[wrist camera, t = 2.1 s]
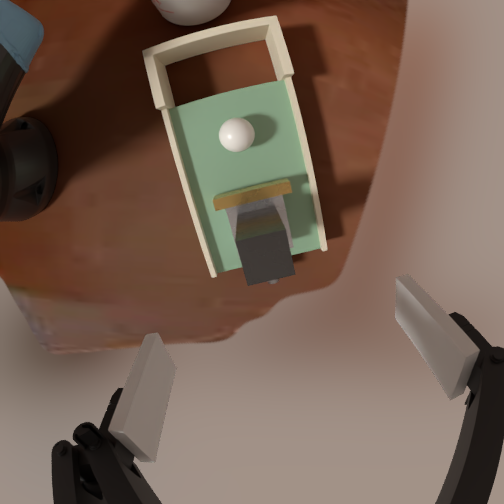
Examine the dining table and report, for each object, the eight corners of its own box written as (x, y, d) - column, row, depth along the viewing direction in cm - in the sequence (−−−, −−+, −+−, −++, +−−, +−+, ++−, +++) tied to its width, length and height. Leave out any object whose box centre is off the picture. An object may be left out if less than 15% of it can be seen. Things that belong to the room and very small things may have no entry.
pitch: (214, 266, 37) (210, 285, 32) (155, 61, 27) (142, 50, 22) (321, 241, 36) (332, 256, 31) (271, 31, 26) (276, 15, 21)
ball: (225, 155, 30) (222, 156, 26) (216, 123, 28) (213, 121, 25) (257, 146, 29) (259, 147, 26) (249, 115, 28) (250, 112, 25)
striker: (240, 283, 35) (240, 336, 26) (214, 195, 31) (202, 221, 22) (304, 268, 35) (325, 316, 25) (286, 177, 31) (305, 195, 21)
